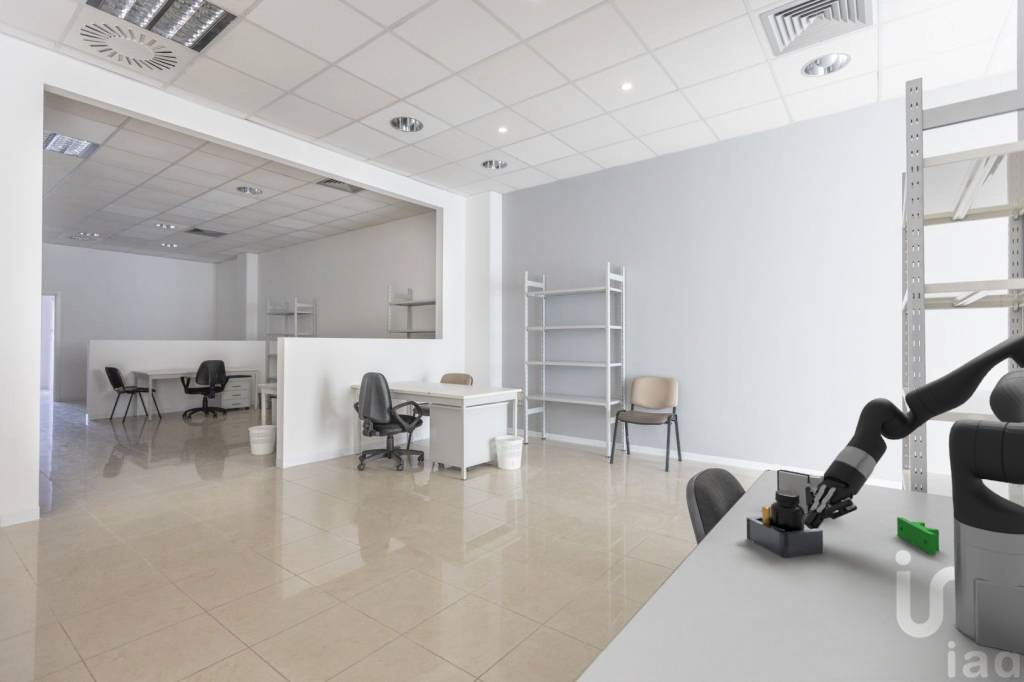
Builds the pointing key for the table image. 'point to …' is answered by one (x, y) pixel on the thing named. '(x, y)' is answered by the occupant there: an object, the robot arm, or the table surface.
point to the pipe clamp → (918, 535)
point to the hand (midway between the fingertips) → (808, 527)
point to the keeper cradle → (783, 537)
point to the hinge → (797, 484)
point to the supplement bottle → (787, 512)
